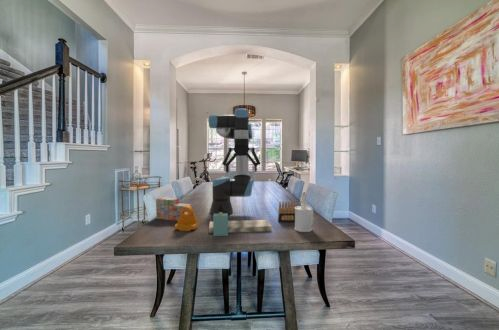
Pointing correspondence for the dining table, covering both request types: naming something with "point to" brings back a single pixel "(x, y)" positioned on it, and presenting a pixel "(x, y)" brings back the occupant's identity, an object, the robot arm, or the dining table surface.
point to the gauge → (220, 224)
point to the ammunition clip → (286, 216)
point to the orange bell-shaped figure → (187, 219)
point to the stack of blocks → (169, 208)
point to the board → (245, 226)
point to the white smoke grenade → (303, 216)
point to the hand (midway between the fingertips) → (241, 178)
